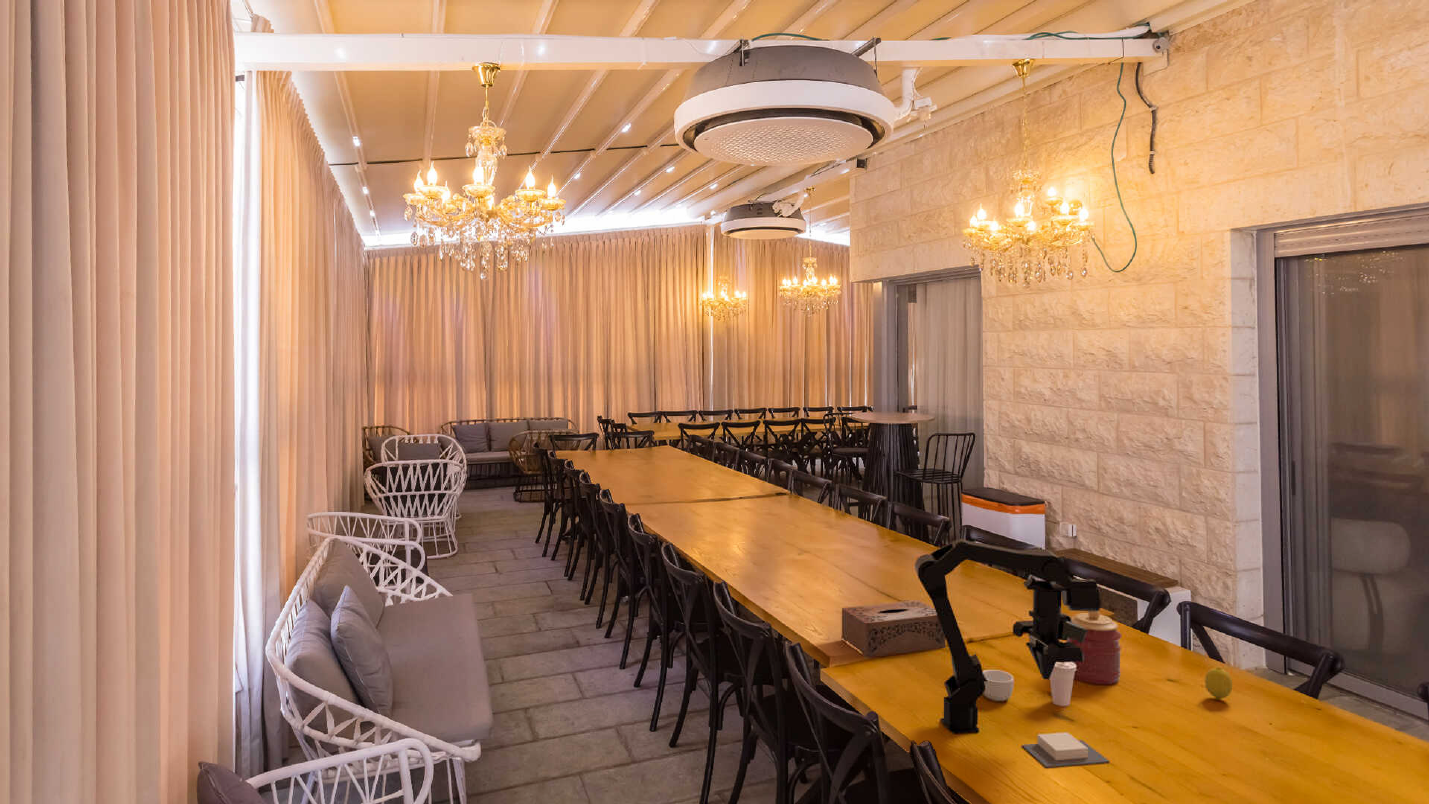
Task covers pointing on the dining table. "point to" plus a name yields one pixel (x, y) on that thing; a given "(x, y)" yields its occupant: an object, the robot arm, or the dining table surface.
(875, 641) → the tissue box cover
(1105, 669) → the canister
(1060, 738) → the block
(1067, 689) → the smoothie
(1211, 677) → the lemon
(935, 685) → the dining table surface
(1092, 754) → the mat
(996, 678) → the teacup
